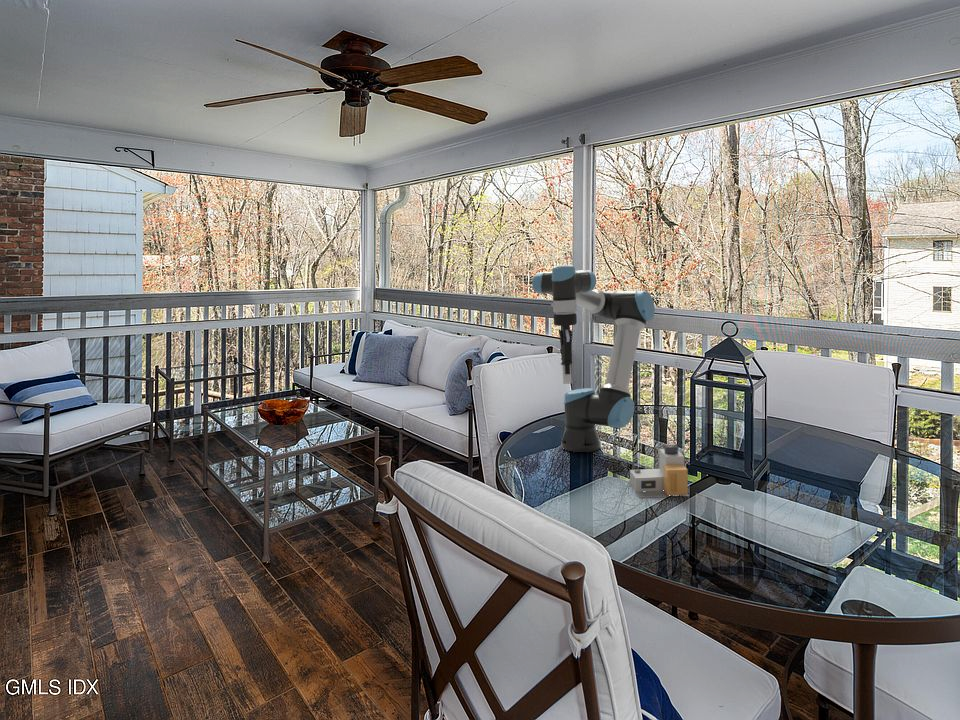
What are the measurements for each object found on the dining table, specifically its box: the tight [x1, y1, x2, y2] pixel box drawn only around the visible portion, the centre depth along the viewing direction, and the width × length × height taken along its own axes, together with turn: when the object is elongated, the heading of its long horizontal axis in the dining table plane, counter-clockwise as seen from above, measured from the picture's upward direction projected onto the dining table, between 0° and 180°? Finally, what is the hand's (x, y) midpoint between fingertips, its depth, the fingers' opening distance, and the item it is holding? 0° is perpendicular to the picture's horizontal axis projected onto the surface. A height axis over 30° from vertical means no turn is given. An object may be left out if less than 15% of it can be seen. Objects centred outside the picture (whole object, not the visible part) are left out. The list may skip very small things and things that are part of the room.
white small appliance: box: [629, 444, 684, 499], centre depth 178 cm, size 15×12×13 cm
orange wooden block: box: [663, 464, 689, 496], centre depth 174 cm, size 6×5×8 cm
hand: (567, 383), depth 191 cm, fingers closed
